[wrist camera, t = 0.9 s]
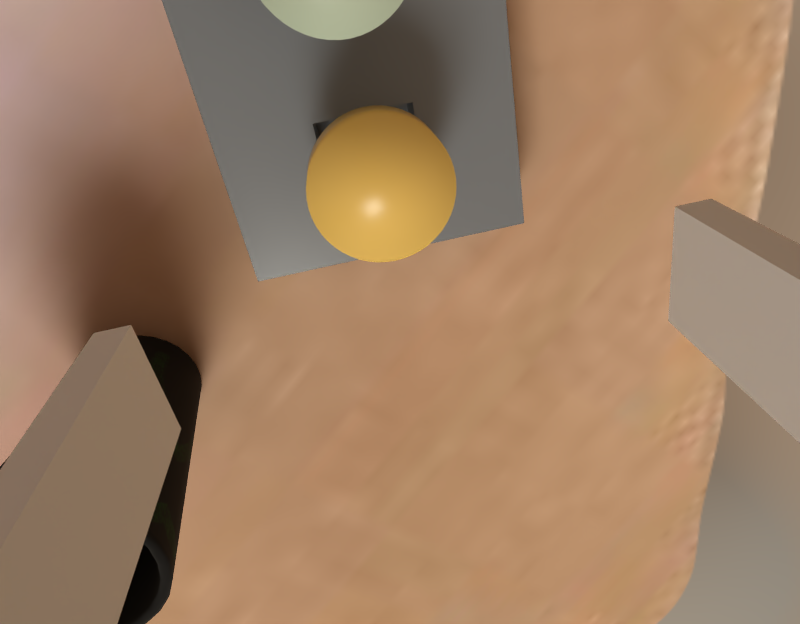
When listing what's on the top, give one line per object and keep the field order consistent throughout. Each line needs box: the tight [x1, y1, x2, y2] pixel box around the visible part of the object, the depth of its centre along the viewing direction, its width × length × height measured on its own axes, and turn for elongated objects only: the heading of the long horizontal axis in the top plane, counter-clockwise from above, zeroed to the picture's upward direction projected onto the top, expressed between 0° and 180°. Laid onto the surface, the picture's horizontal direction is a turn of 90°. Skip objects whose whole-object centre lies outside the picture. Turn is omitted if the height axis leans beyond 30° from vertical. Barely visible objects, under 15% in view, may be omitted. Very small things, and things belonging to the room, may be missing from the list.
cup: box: [0, 336, 201, 624], centre depth 25 cm, size 8×8×12 cm
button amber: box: [306, 105, 457, 262], centre depth 22 cm, size 5×5×4 cm
